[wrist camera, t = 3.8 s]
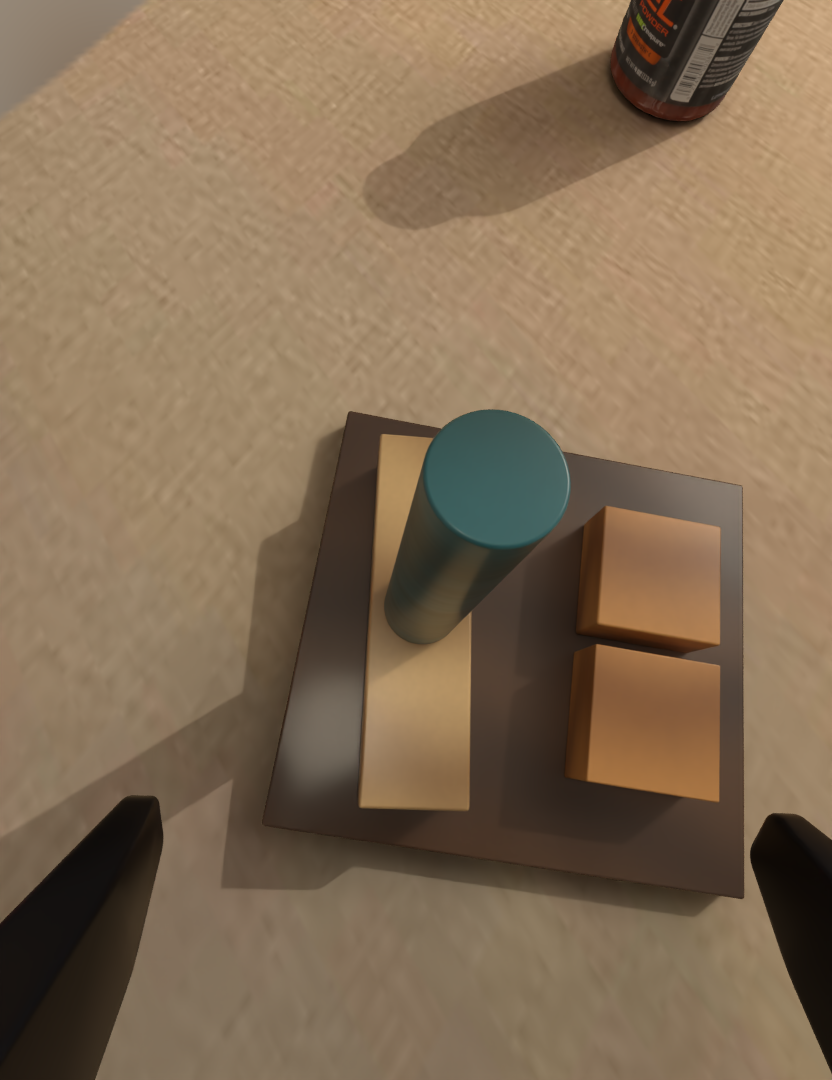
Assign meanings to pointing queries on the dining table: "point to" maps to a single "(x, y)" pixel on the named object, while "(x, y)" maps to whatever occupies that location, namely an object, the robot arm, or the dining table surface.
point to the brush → (443, 592)
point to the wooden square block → (650, 580)
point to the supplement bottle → (685, 52)
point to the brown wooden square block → (644, 722)
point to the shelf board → (514, 696)
